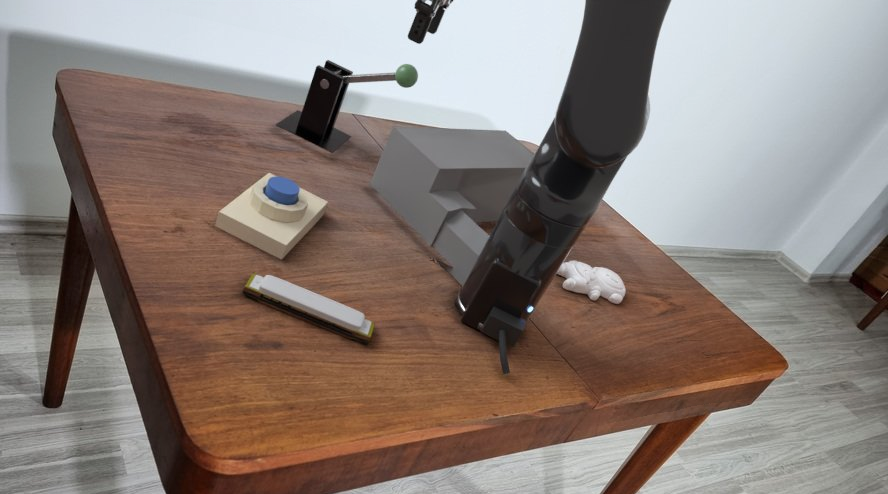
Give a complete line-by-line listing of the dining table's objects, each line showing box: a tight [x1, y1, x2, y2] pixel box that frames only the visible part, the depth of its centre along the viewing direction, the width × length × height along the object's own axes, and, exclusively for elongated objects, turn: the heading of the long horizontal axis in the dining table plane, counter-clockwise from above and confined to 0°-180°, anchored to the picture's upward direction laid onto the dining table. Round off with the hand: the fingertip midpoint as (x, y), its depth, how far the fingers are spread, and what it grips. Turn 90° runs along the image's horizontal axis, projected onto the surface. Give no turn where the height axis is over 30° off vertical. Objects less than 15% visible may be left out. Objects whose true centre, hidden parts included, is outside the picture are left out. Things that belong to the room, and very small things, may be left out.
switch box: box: [214, 172, 329, 260], centre depth 89 cm, size 14×9×4 cm, turn 162°
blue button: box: [265, 175, 300, 205], centre depth 88 cm, size 4×4×2 cm
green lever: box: [332, 63, 419, 89], centre depth 107 cm, size 15×3×3 cm, turn 73°
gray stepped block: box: [369, 125, 535, 288], centre depth 105 cm, size 25×23×11 cm
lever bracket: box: [275, 59, 354, 154], centre depth 111 cm, size 10×9×12 cm
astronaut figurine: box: [556, 260, 627, 305], centre depth 107 cm, size 9×12×3 cm
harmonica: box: [241, 272, 376, 345], centre depth 77 cm, size 15×3×2 cm, turn 80°
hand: (421, 36), depth 102 cm, fingers open, 8 cm apart
